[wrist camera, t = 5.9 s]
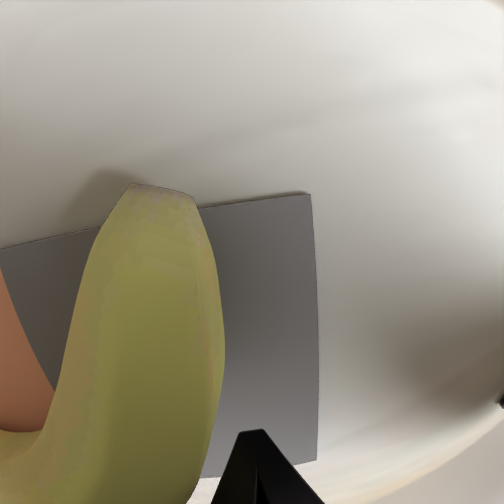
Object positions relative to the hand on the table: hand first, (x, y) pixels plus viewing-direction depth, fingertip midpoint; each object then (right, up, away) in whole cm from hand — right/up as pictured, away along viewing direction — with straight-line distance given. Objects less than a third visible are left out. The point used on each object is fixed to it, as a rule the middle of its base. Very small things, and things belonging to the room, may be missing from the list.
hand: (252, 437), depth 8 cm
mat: (-3, 0, +2) cm, 3 cm away
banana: (-11, 0, +1) cm, 11 cm away
